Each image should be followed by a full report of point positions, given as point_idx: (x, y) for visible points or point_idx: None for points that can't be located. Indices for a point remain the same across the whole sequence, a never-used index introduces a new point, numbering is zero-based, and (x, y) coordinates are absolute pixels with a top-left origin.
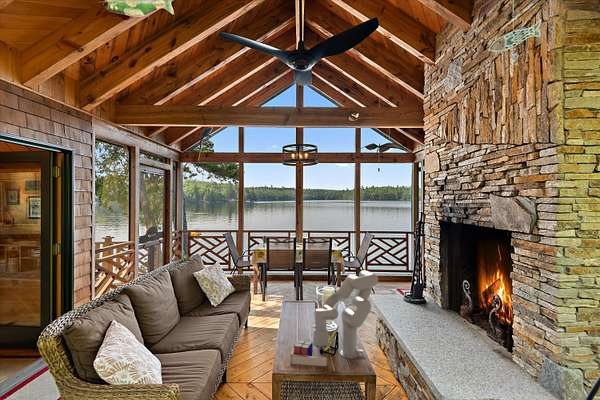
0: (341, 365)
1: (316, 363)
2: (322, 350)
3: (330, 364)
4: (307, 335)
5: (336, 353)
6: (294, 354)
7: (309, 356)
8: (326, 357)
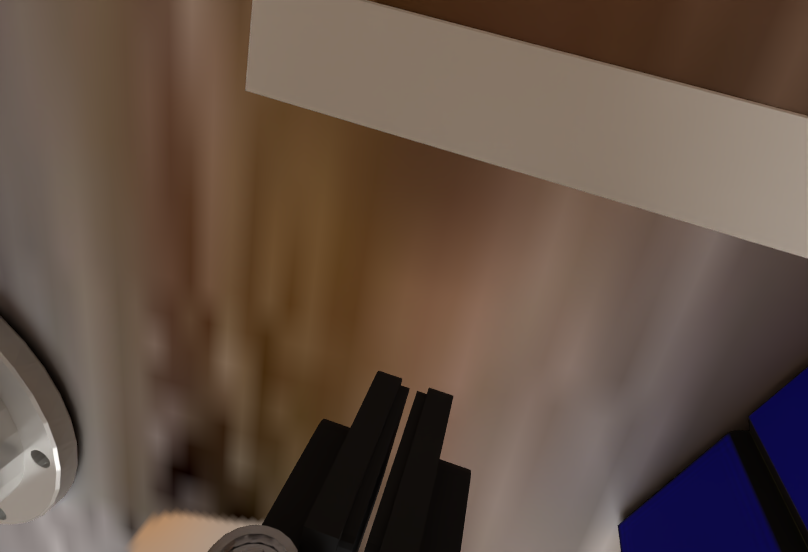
0: (18, 8)
1: (687, 84)
2: (323, 499)
3: None
4: None
5: (142, 474)
6: None
7: None
8: (247, 78)
